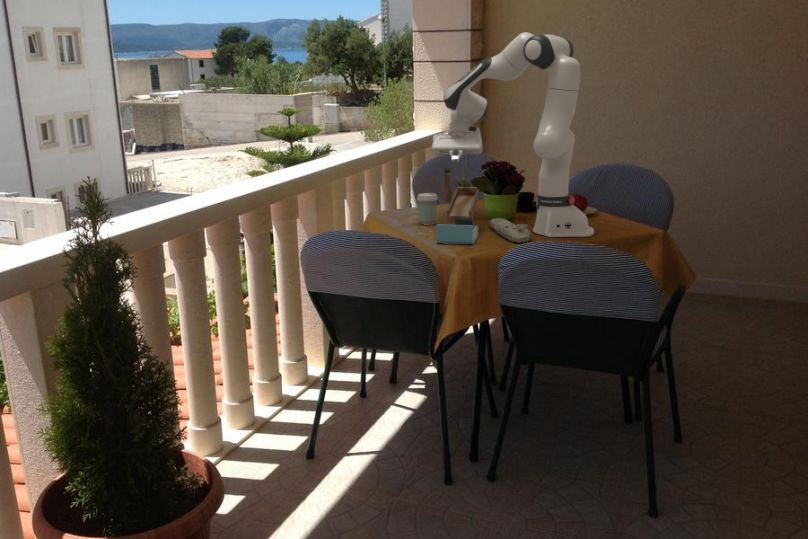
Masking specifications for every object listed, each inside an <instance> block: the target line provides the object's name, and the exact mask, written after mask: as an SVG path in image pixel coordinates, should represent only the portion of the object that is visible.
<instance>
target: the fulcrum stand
mask: <svg viewBox="0 0 808 539" xmlns="http://www.w3.org/2000/svg"><path fill="white" fill-rule="evenodd" d="M474 214H475V213H473V216H472V218H471V219H457V218H454V225H473V226H474V225H475V224H474V216H475V215H474Z"/></svg>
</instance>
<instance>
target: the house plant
mask: <svg viewBox="0 0 808 539" xmlns="http://www.w3.org/2000/svg"><path fill="white" fill-rule="evenodd" d="M455 178H456V179H457V180H458V182H457V181H456V180H453V179H452V184H453V183H454V184H456V185H457V186H458V187H474V185H473V184H471V181H468V182H467V180H468V178H464V176H462V178H461V179H462V182H461V180H460V178H459V177H458V176H457V177H456V176H455ZM453 181H454V182H453ZM455 191H456V190H452V194H454V193H455Z"/></svg>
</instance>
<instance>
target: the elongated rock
mask: <svg viewBox="0 0 808 539" xmlns="http://www.w3.org/2000/svg"><path fill="white" fill-rule="evenodd" d="M488 225H489V227H490V228H491V229H492V230H493V231H495V233H496V234H498V235H499V236H501V237H502V238H504V239H506V240H507V239H508V240H507V241H509V242H514V243H521V244H522V243H528V241H530V240H532V233H531V231H530V230H529V225H528V224H525V223H522V224H519V223H517V224H515V223H513V222H511V221H510V220H507V219H506V218H503V217H496V218H492V219H490V220H489V224H488Z"/></svg>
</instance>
